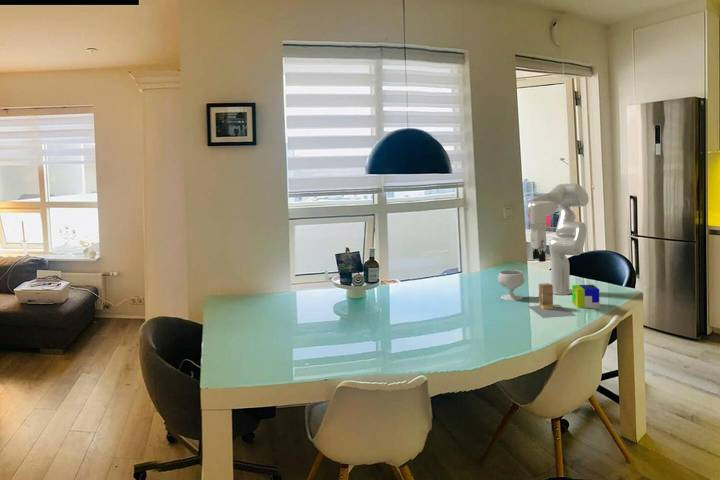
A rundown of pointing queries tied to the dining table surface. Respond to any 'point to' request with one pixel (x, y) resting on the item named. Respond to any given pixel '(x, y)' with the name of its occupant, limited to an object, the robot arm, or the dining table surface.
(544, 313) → the rubber mat
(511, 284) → the chalice
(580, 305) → the puzzle toy
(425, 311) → the dining table surface
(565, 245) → the robot arm
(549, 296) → the walnut block
